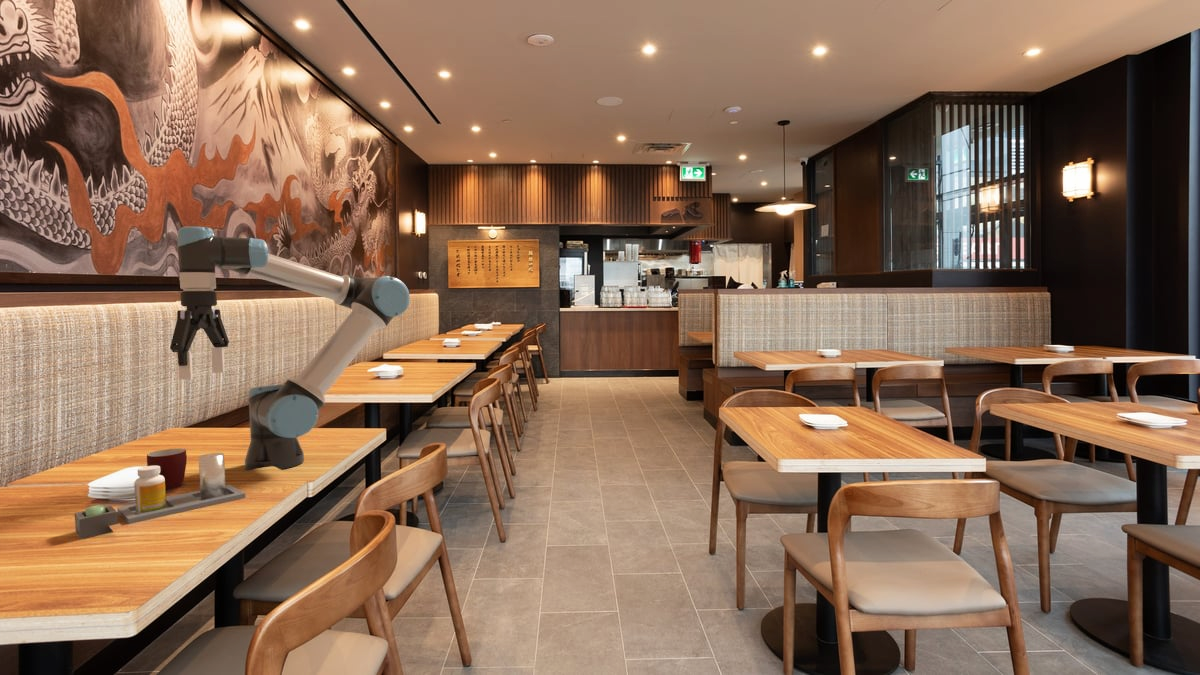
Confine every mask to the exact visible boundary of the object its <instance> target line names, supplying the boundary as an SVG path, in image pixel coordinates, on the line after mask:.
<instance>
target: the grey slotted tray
mask: <svg viewBox="0 0 1200 675" xmlns="http://www.w3.org/2000/svg"><path fill="white" fill-rule="evenodd" d="M241 499H246V493H245V492H244V491H242V490H240V489H238V488H237V487H235V486H233V485H231V484H226V495H225V496H220V497H216V498H211V499H206V500H202V501H201V494H200V490H195V491H190V492H186V493H181V494H176V495H171V496H170V495H169V496H166V508H165V509H160V510H156V511H151V512H146V513H142V514H137V513H136V503H132V504H128V505H122V506H118V507H117V508H116V511H117V514H119V516H120V517H121V518H123V520H124V521H125V522H126V523H127V524H128V525H129V524H135V523H140V522H144V521H148V520H153V519H159V518H161V517H167V516H170V515H175V514H181V513H184V512H185V513H186V512H188V511H193V510H196V509H197V510H198V509H202V508H206V507H211V506H215V505H219V504H224V503H229V502H232V501H233V502H234V501H237V500H241Z"/></svg>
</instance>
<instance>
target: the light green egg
mask: <svg viewBox="0 0 1200 675" xmlns="http://www.w3.org/2000/svg"><path fill="white" fill-rule="evenodd" d="M105 507H106V505H104V504H97V505H93V506H88V507H86V508H84V509H85V510H84V511H85V512H86V517H88V516H92V515H97V514H102V513H106V509H105Z"/></svg>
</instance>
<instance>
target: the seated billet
mask: <svg viewBox="0 0 1200 675" xmlns="http://www.w3.org/2000/svg"><path fill="white" fill-rule="evenodd" d="M225 470H226V467H225V454H224V452H223V453H222V452H215V453H214V452H212V453H207V454H206V453H205V454H202V455H199V456H198V475H199V489H200V490H199V491H200V494H201V501H202V500H206V499H211V498H216V497H220V496H225V495H226V485H227V484H226V471H225Z"/></svg>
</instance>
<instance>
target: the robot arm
mask: <svg viewBox="0 0 1200 675" xmlns="http://www.w3.org/2000/svg"><path fill="white" fill-rule="evenodd" d="M176 247H177V257H178V268H179V270H178V272H179V277H178V280H179V286H180V289H181V290H183V291H181V292H180V294H179V295H180V296H179V297H180V305H181V306H182V307H186V309H185V310H180V309H179V310H177V313H176V316H177V317H176V323H175V327H174V331H173V334H172V338H171V342H170V346H169V350H170V351H171V352H172V353H177V364H178V380H179V381H180V380H181V381H182V380H183V381H184V380H193V379H194V374H193V372H194V371H193V360H192V359H193V356H192V351H190V349H191V346H192V344H193V342H194V340H195V337H196V336H197V335H196V334H197V332H198V331H199V330H201V329H202V330H203V331H204V332H205V334H206V336H207V338H208V339H209V341H210V343H211V345H212V347H211V348H210V351H211V352H210V353H211V354H210V355H211V370H212V372H211V373H213V374H215V373H217V374H218V373H219V374H221V373H225V372H226V370H225V352H224V351H225V350H224V348H227V347H228V346H229V343H230V342H229V340H230V339H229V338H228V335H227V331H226V329H225V325H224V322H223V320H222V317H221V316H222V315H221V310H220V309H219V308H217V309H212V307H215V306H217V304H218V298H217V292H216V291H215V289H217V281H216V280H217V279H216V268H218V269H220V270H223V271H232V272H236V273H239V274H242V275H246V276H250V277H254V278H257V279H261V280H264V281H267V282H271V283H275V284H277V285H281V286H283V287H284V286H285V287H287V288H290V289H294V290H298V291H301V292H305V293H309V294H312V295H316V296H318V297H319V296H320V297H321V298H322V297H323V298H325V299H330V300H333V302H334V303H335V304H336V305H338V306H342V307H344V308H348V309H351V312H350V314H349V315H348V316H347V317H346V318H345V319H344V320H343V322H342V323H341V324H340V326H339V327H338V328H336V331H335V332H334V333H333V334H332V335H331V336H330V337H329V339H328V340H327V341H326V342H325V343H324V345H323V346H322V347H321V348H320V349H319V351H318V352H317V353H316V354H315V356H313V358H312V359H311V360H310V361H309V362H308V364H307V365H306V366H305V368H304V369H303V370H302V371H301V372H300V373H299V375H298V376H297V377H292V378H288V379H287V380H286V381H285V382H284V384H275V385H266V386H255V387H252V388H250V389H249V390H248V398H247V401H248V410H249V411H248V413H249V429H250V430H249V431H250V442H249V446H248V449H247V452H246V455H245V459H244V469H245V470H247V471H251V470H257V469H262V468H267V467H275V468H277V469H278V470H285V469H289V468H293V467H296V466H299V465H301V464H303V463H304V461H305V454H304V450H303V448H302V446H301V444H300V441H299V439H298V438H299V437H302V436H304V435H306V434H308V433H309V432H310V431H311V430H312V429H313V428H314V427H315V426H316V424H317V422H318V420H319V412H320V410H321V409H322V408H323V406H324V405H325V403H326V401H325V394H327V393H328V391H329V390H330V389H331V388H332V386H333V385H334V384H335V383H336V381H337V380H338V379H339V378H340V376H342V374H343V373H344V371H345V370H346V368H348V366H349V365H350V364H351V362H353V360H354V358H356V357H357V355H358V354H359V352H360V351H361V350H362V349H363V348H364V346H365V345H366V344H367V343H368V341H369V340H370V339H371V338H372V336H373V335H374V334H375V332H376V331H377V330H381V329H385V328H386V327H388V325H389V323H390V322H392V320H393V319H394V318H395V317H399V316H401V315H402V314H403V313H405V312H406V311H407V309H408V307H409V305H410V299H411V297H410V292H409V289H408V287H407V285H406V284H405V283H404V282H403V281H402V280H400V279H399V278H397V277H394V276H389V275H383V276H380V277H357V276H353V275H348V274H343V275H338V274H335V273H332V272H328V271H327V270H326V271H325V270H322V269H319V268H316V267H312V266H309V265H306V264H303V263H299V262H297V261H294V260H292V259H287V258H285V257H284V258H283V257H282V256H277V255H276V254H275V255H274V254H271V253H269V248H268V243H267V242H266V241H265V240H264V239H262V238H253V237H250V238H249V237H229V236H228V237H226V236H218V235H217V236H216V235H215V234H214V230H213V229H212V228H210V227H205V226H182V227H180V228H179V229H178V230H177V245H176Z"/></svg>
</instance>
